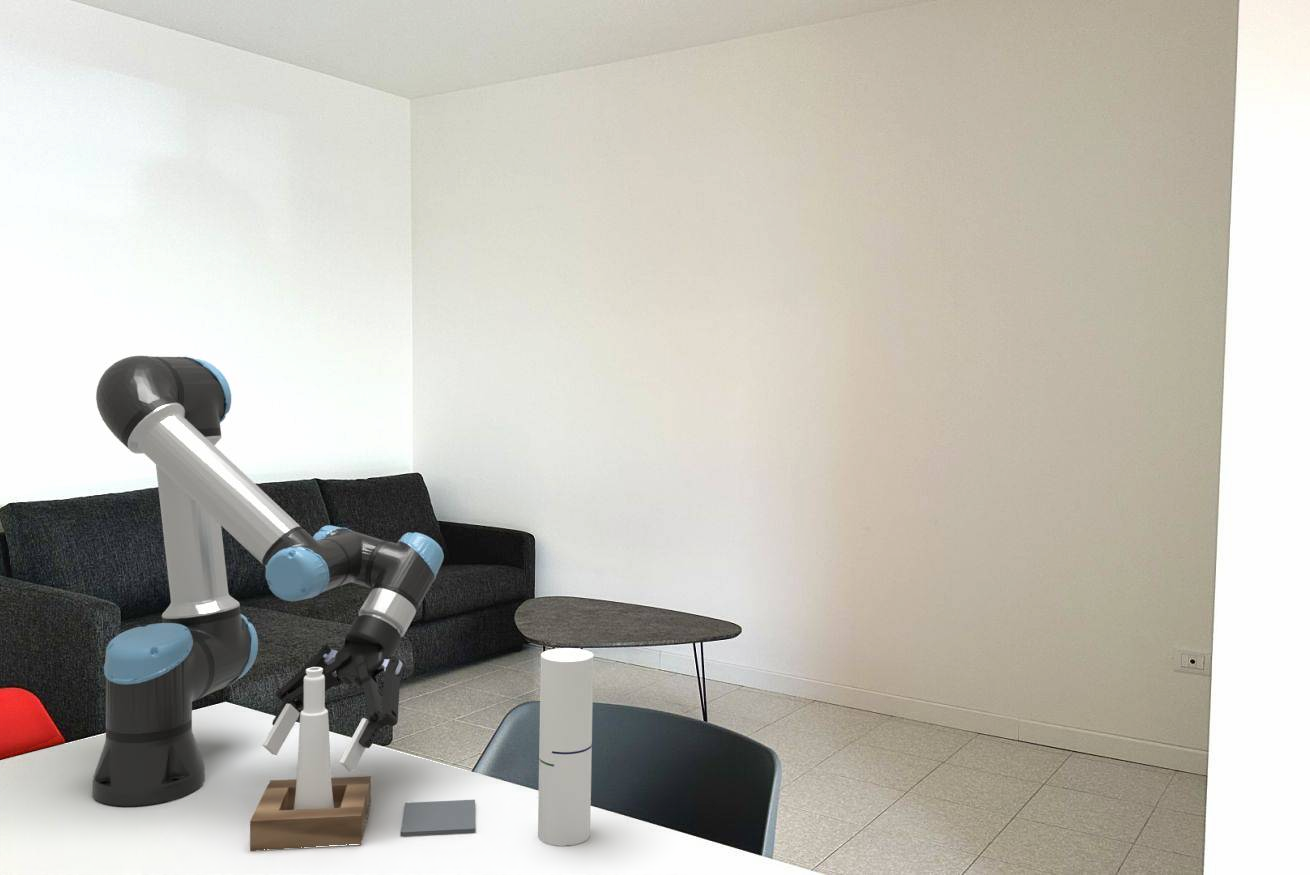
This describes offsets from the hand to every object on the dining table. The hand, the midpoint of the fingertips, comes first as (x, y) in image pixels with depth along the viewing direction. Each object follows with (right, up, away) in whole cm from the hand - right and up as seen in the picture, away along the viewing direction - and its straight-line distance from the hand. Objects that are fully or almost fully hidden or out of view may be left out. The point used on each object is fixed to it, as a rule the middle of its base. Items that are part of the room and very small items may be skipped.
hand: (306, 758), depth 144 cm
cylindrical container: (+35, -11, +1) cm, 37 cm away
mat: (+17, -10, +5) cm, 20 cm away
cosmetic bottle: (0, -10, +2) cm, 10 cm away
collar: (0, -10, +2) cm, 10 cm away
